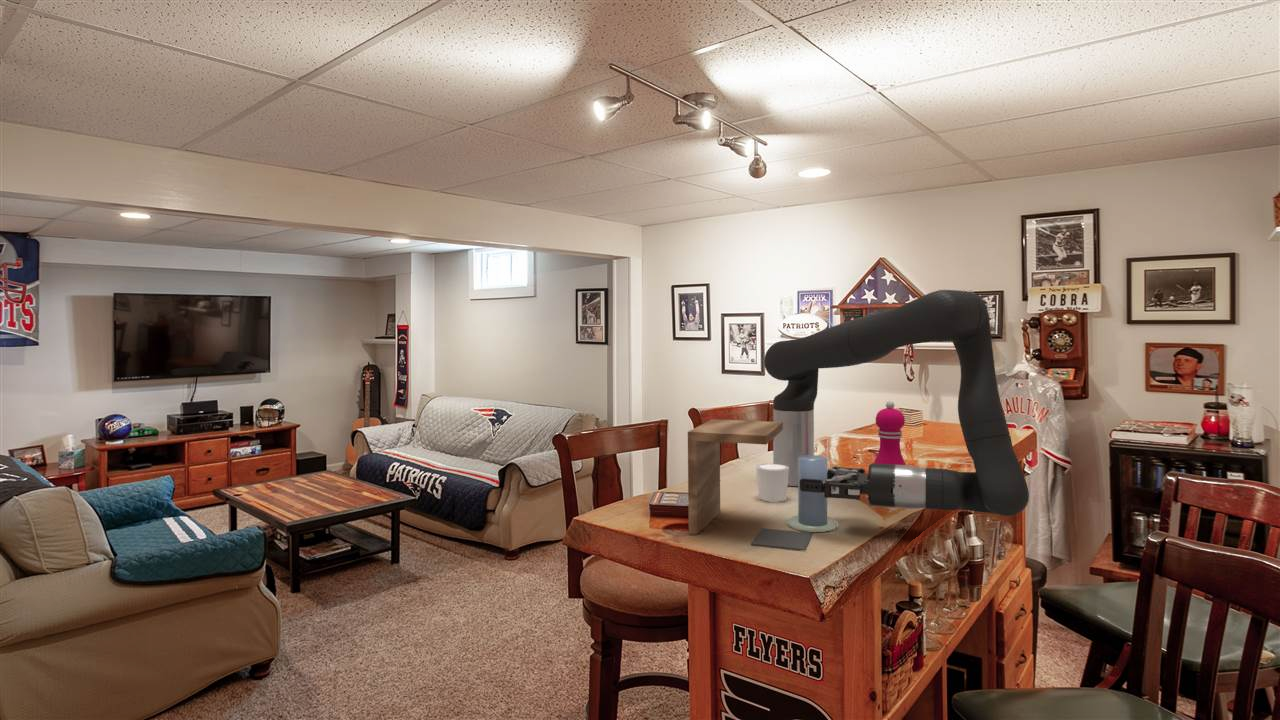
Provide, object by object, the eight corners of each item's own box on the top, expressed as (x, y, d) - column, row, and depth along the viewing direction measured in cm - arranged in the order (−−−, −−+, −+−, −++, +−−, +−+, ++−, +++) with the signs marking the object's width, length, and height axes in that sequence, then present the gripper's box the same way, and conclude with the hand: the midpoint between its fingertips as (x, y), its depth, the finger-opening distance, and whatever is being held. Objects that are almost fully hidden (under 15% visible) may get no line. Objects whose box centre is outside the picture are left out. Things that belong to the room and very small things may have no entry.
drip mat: (761, 529, 122) (761, 527, 122) (812, 534, 118) (812, 533, 118) (750, 545, 113) (750, 543, 113) (804, 551, 110) (804, 549, 110)
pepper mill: (884, 496, 143) (885, 403, 141) (865, 488, 150) (866, 400, 148) (914, 494, 144) (915, 402, 143) (894, 486, 151) (894, 398, 150)
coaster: (779, 520, 127) (779, 517, 127) (821, 516, 129) (821, 513, 129) (801, 534, 118) (801, 531, 118) (847, 530, 120) (847, 526, 120)
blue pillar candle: (793, 519, 125) (793, 456, 125) (818, 516, 127) (818, 454, 126) (806, 527, 120) (806, 461, 120) (832, 524, 122) (832, 459, 121)
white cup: (789, 503, 138) (789, 470, 138) (755, 502, 140) (755, 469, 139) (788, 495, 145) (788, 463, 145) (756, 494, 146) (756, 462, 146)
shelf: (783, 517, 129) (782, 422, 128) (766, 542, 114) (766, 435, 113) (713, 510, 134) (712, 419, 133) (688, 534, 119) (687, 431, 118)
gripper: (897, 457, 124) (808, 452, 130) (896, 473, 111) (797, 467, 117) (897, 497, 124) (808, 490, 131) (896, 518, 111) (797, 509, 117)
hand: (803, 479), depth 124 cm, fingers open, 8 cm apart
